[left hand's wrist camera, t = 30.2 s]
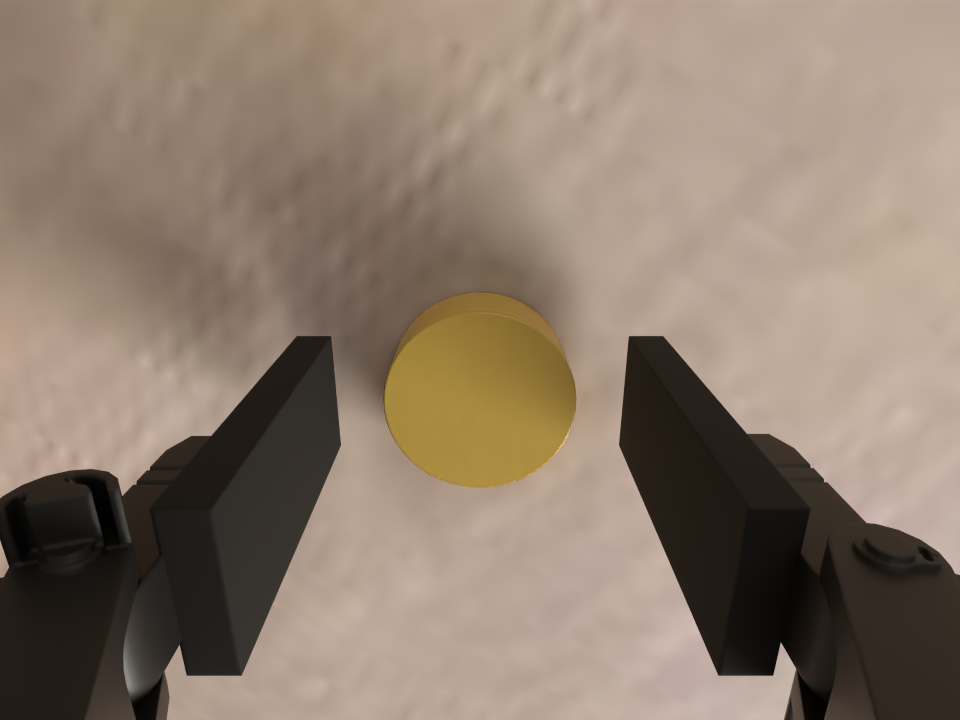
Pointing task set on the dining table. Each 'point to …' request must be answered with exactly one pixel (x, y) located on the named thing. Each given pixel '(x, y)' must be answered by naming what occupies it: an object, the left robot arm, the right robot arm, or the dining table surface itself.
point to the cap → (479, 391)
